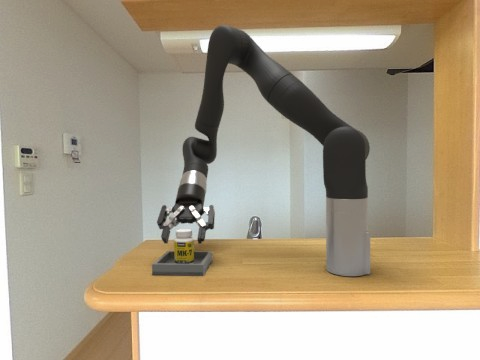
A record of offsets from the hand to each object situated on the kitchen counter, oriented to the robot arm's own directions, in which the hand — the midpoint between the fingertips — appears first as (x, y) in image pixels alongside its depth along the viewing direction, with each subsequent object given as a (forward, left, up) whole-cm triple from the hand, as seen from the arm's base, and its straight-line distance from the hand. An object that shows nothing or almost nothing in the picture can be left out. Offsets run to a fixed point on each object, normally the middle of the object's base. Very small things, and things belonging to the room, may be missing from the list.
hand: (182, 241), depth 82 cm
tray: (0, -1, -7) cm, 7 cm away
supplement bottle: (0, -2, -6) cm, 6 cm away
